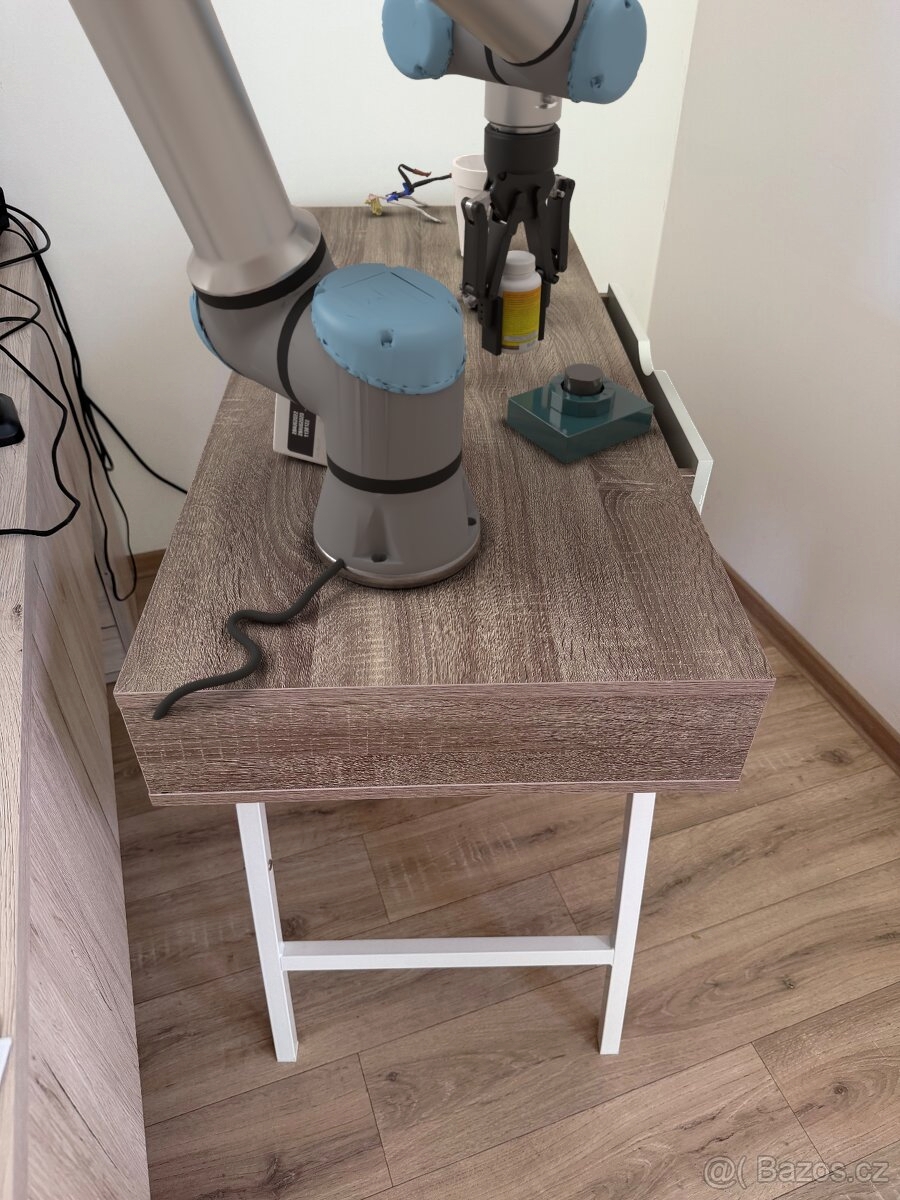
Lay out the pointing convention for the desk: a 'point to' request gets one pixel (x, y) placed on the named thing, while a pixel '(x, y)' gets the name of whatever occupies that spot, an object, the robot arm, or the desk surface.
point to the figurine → (405, 192)
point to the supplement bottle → (520, 303)
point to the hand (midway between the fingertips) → (512, 343)
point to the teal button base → (578, 418)
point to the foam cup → (467, 185)
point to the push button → (583, 380)
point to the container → (298, 432)
